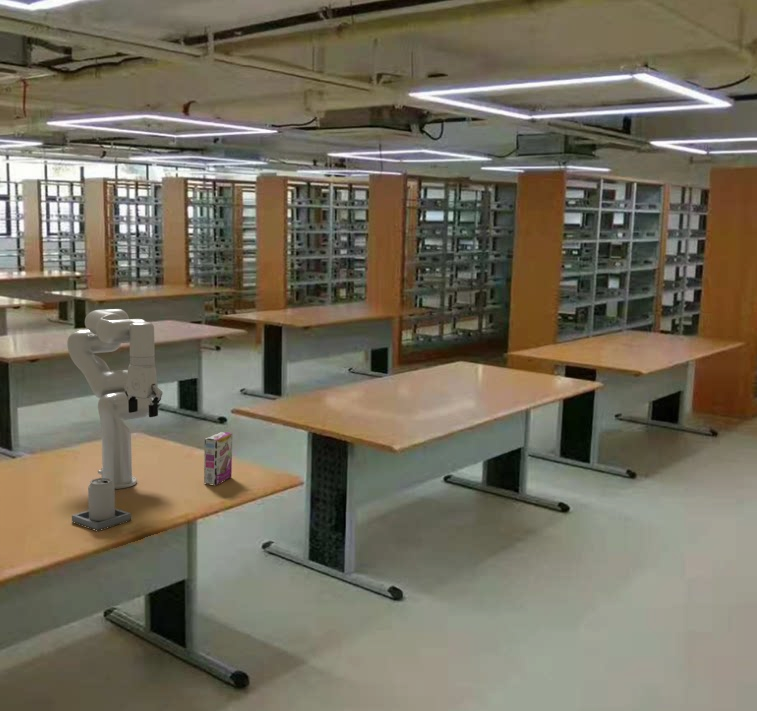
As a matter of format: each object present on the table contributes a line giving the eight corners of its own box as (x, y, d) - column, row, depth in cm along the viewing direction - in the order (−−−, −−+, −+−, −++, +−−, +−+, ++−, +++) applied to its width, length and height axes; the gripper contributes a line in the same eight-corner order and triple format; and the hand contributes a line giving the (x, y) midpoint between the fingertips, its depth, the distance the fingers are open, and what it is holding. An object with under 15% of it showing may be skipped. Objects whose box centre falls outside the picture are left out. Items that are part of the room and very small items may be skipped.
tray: (72, 522, 248) (71, 515, 247) (105, 511, 257) (105, 504, 257) (97, 531, 241) (97, 524, 241) (131, 520, 251) (131, 513, 250)
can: (120, 519, 250) (119, 480, 248) (97, 525, 244) (96, 485, 242) (106, 512, 255) (106, 475, 253) (84, 518, 249) (83, 480, 247)
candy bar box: (216, 486, 285) (216, 440, 282) (203, 484, 287) (203, 438, 284) (232, 477, 295) (232, 432, 293) (220, 475, 297) (220, 431, 295)
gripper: (114, 359, 264) (116, 412, 267) (151, 366, 255) (151, 420, 257) (134, 356, 271) (134, 408, 273) (170, 363, 261) (170, 416, 264)
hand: (143, 414), depth 265 cm, fingers open, 9 cm apart
